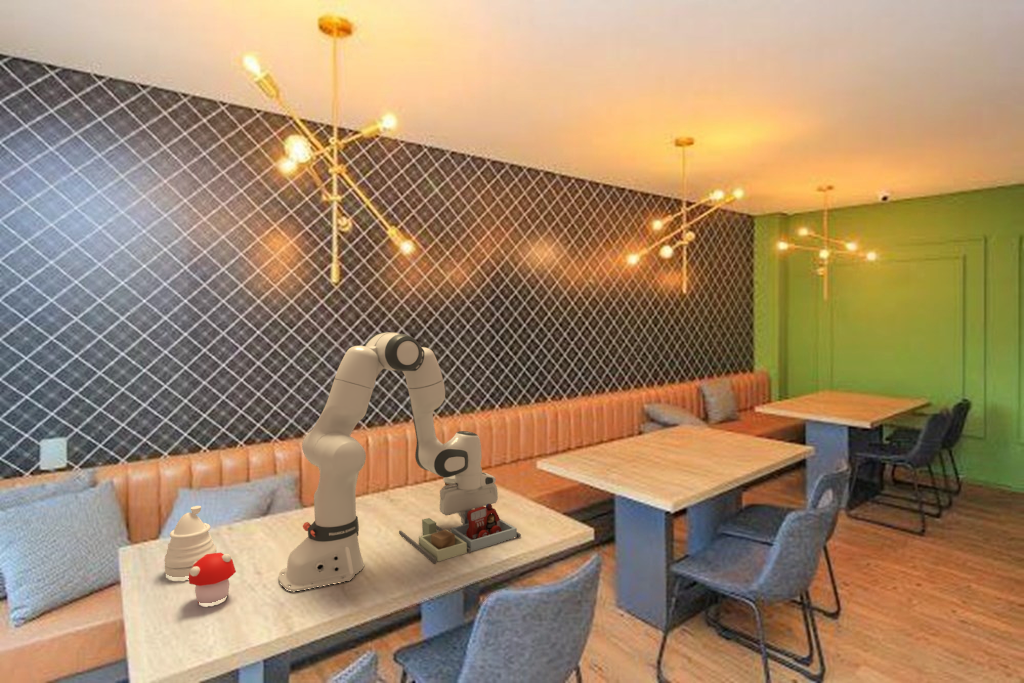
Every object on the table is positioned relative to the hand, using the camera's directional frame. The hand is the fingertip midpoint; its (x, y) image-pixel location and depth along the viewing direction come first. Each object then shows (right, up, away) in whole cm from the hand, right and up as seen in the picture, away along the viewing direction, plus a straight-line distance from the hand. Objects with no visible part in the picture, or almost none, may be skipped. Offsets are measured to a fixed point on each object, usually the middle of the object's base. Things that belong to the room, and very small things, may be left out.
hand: (469, 521), depth 186 cm
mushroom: (-62, -7, -42) cm, 75 cm away
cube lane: (-8, -3, -13) cm, 16 cm away
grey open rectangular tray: (+4, -3, -5) cm, 7 cm away
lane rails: (-3, -3, -6) cm, 7 cm away
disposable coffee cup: (-6, -1, +20) cm, 21 cm away
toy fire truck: (+5, -3, -8) cm, 10 cm away
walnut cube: (-7, -4, -16) cm, 17 cm away
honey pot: (-77, -6, -25) cm, 81 cm away
